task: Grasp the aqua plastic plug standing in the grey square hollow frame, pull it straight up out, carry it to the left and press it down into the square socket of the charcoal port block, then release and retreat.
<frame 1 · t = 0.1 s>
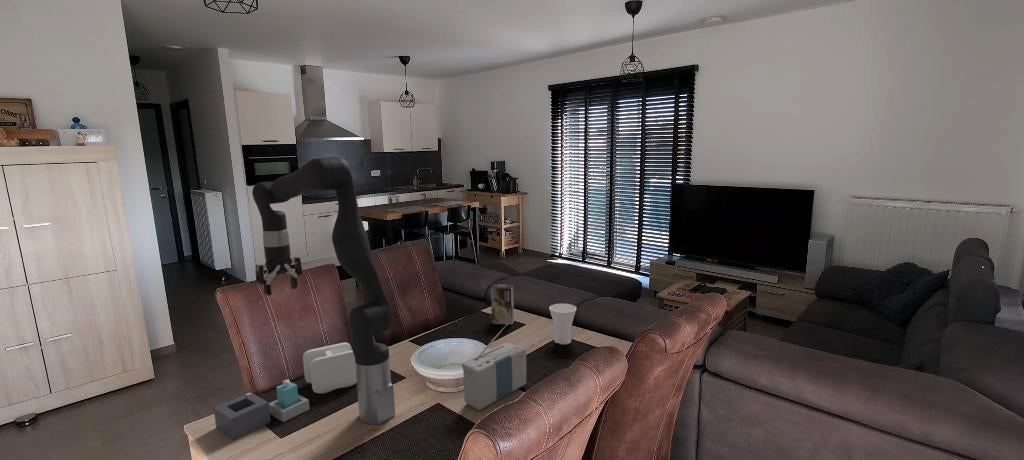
hand: (281, 291, 158), 29 cm above the table, fingers open, 8 cm apart
stereo radio cassette player: (495, 396, 147), on the table
plug: (287, 396, 139), in the grey square hollow frame
coffee box: (503, 322, 208), on the table
port: (243, 424, 133), on the table
cable organizer: (332, 384, 156), on the table
grey square hollow frame: (289, 411, 140), on the table
cup: (562, 341, 186), on the table
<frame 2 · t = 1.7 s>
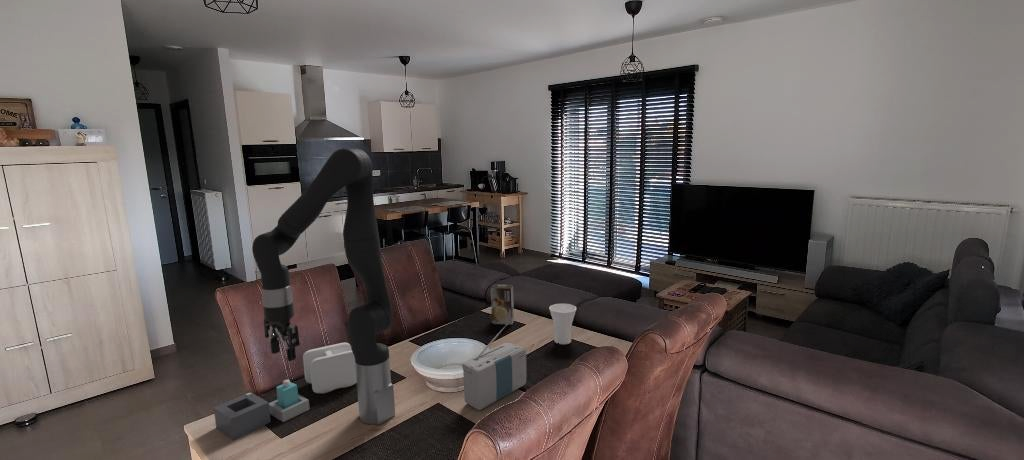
hand: (283, 356, 137), 17 cm above the table, fingers open, 8 cm apart
nothing on the table moved.
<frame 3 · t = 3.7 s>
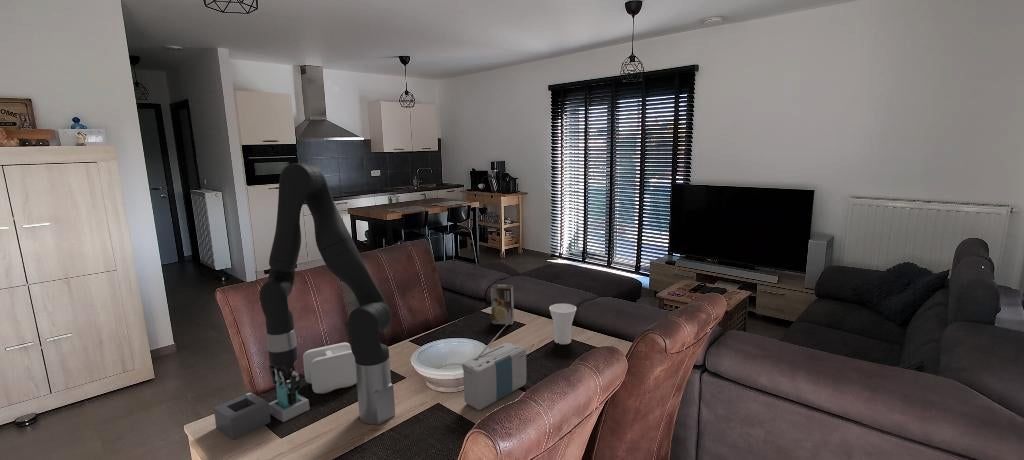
hand: (288, 401, 139), 3 cm above the table, fingers closed on plug, 4 cm apart
plug: (287, 396, 139), in the grey square hollow frame, touching gripper
everything else where it was.
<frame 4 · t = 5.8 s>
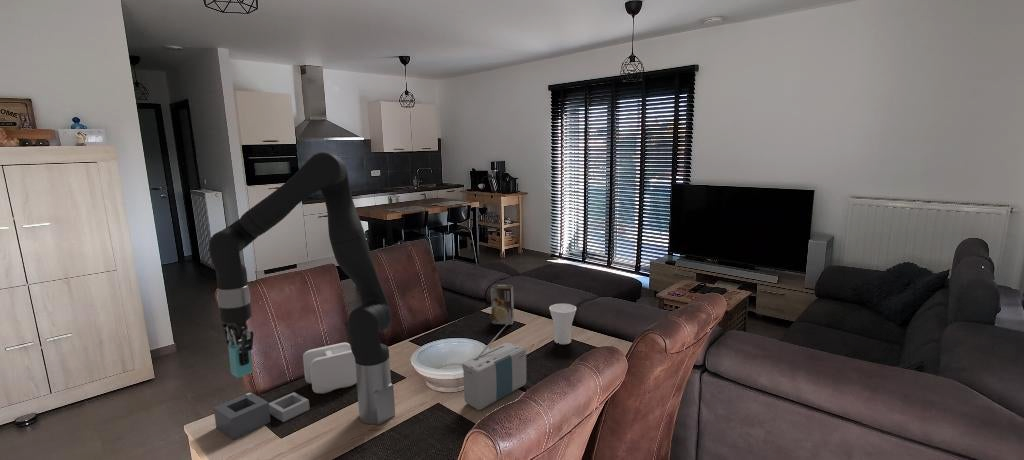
hand: (240, 361, 132), 18 cm above the table, fingers closed on plug, 4 cm apart
plug: (240, 356, 131), point 20 cm above the table, touching gripper
everything else where it was.
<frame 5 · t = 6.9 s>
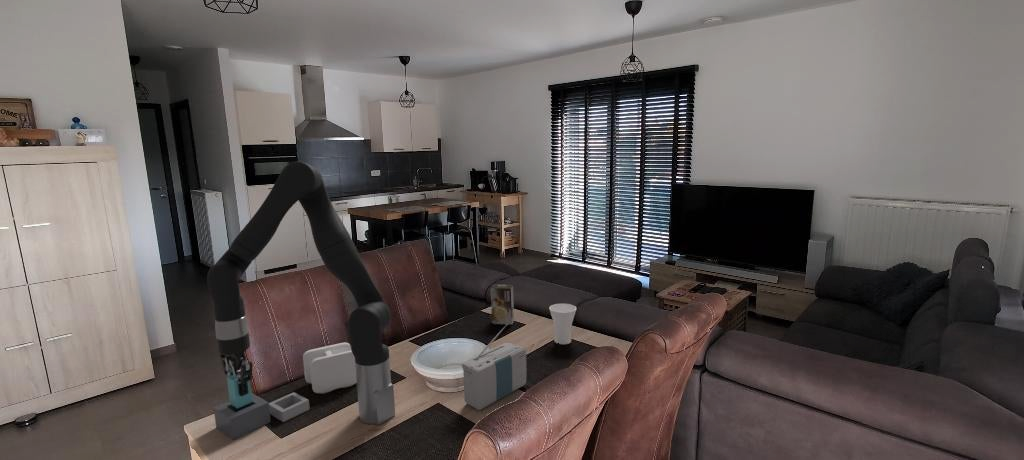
hand: (239, 392, 132), 10 cm above the table, fingers closed on plug, 4 cm apart
plug: (239, 387, 132), point 11 cm above the table, touching gripper
everything else where it was.
when the fingers open (7 cm above the table, at t = 7.9 s): plug drops 2 cm, resting on port.
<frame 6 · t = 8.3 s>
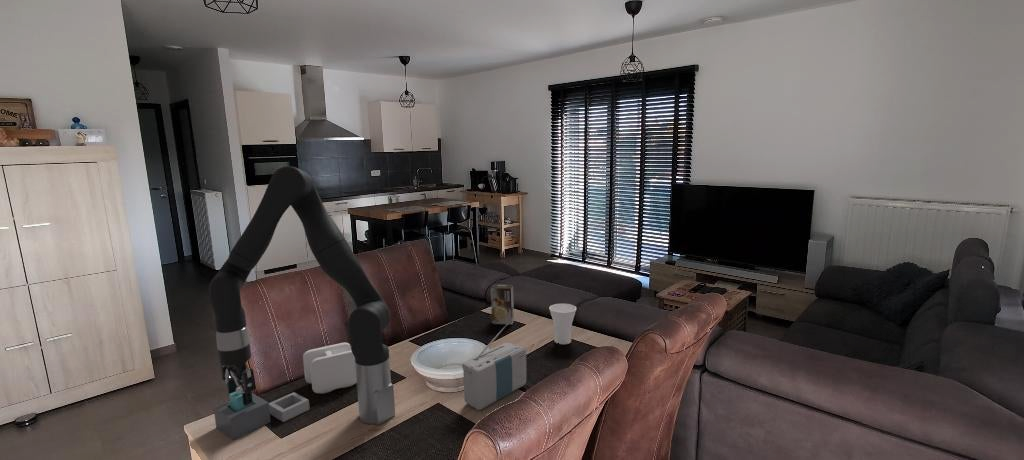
hand: (240, 399, 132), 8 cm above the table, fingers open, 8 cm apart
plug: (241, 404, 132), in the port, point 6 cm above the table
everything else where it was.
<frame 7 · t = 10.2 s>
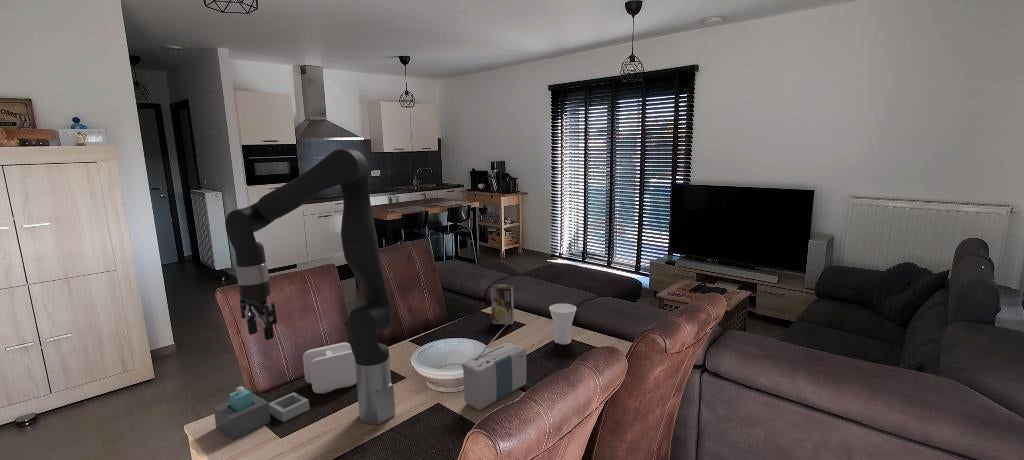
hand: (261, 336, 134), 24 cm above the table, fingers open, 8 cm apart
nothing on the table moved.
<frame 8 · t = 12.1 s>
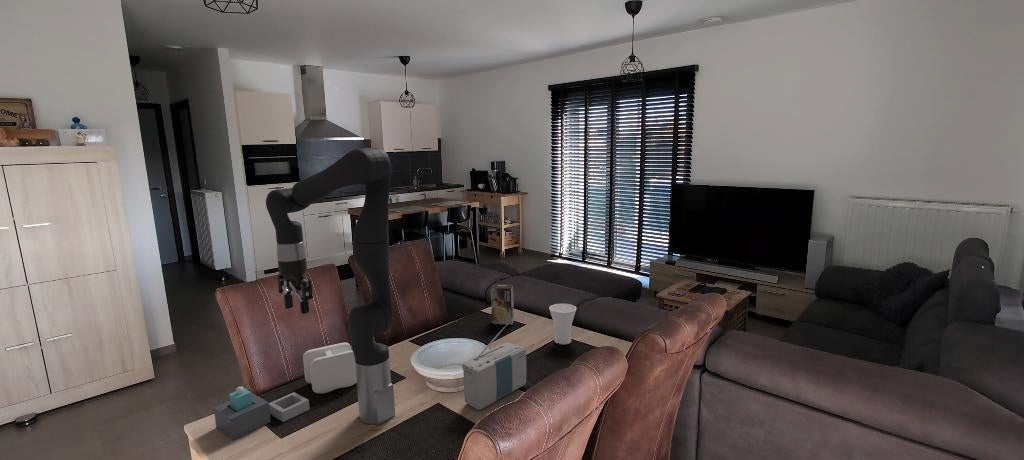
hand: (297, 310, 142), 28 cm above the table, fingers open, 8 cm apart
at the end: plug 0.1 cm off-centre on the port, point 6.2 cm above the port's base; plug tilted 0°; the gripper is holding nothing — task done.
